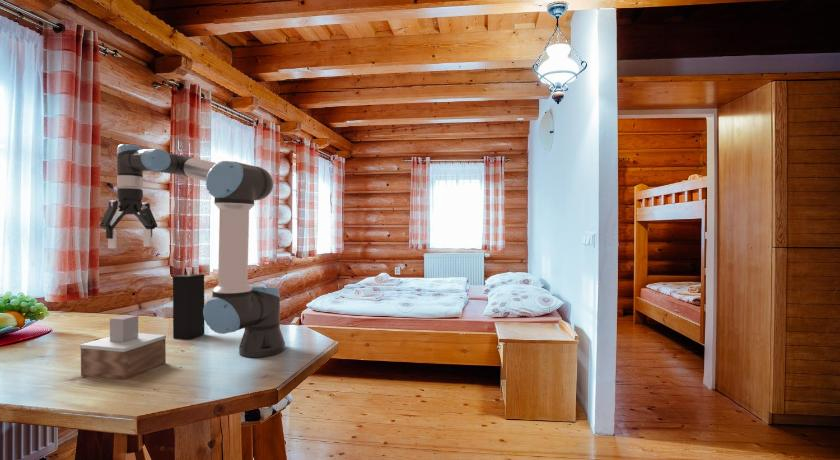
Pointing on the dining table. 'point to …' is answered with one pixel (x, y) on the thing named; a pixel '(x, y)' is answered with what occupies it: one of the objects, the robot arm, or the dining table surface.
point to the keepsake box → (122, 361)
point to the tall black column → (188, 305)
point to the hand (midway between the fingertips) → (130, 247)
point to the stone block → (123, 328)
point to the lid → (125, 346)
